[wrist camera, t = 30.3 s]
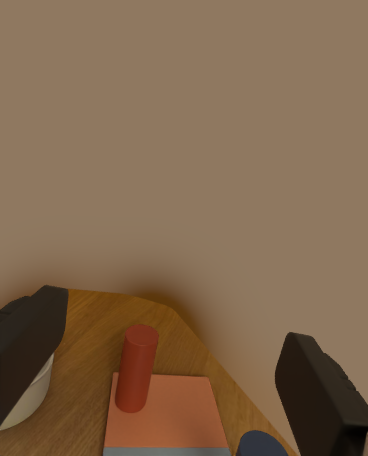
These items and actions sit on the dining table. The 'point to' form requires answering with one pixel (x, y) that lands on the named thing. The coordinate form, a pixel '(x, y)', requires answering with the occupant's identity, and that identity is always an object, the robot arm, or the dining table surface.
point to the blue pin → (259, 445)
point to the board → (168, 421)
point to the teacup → (30, 397)
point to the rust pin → (136, 368)
